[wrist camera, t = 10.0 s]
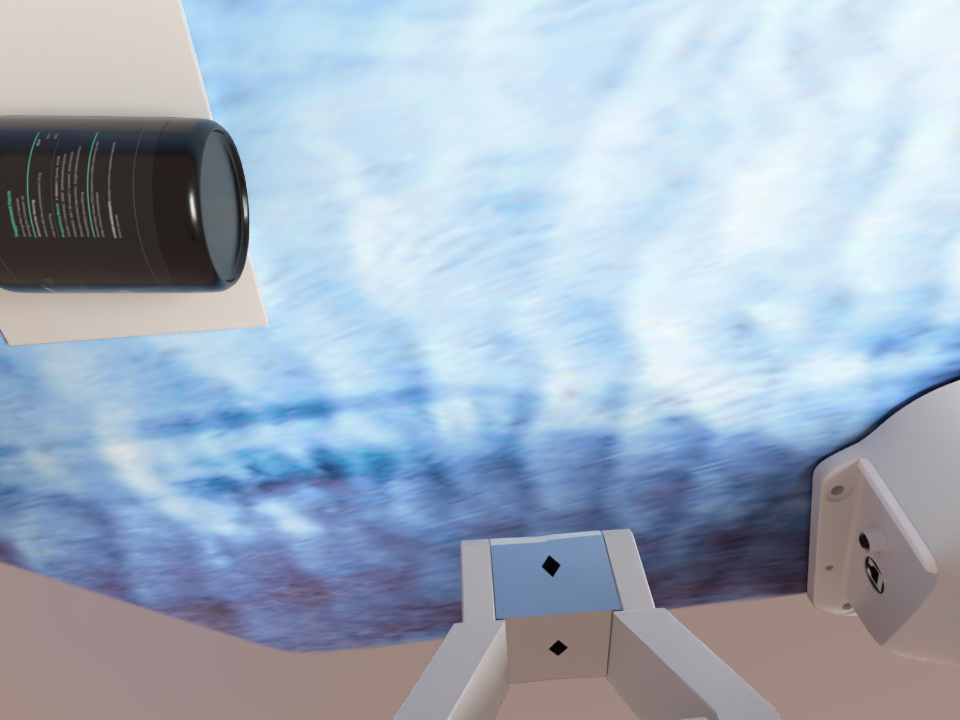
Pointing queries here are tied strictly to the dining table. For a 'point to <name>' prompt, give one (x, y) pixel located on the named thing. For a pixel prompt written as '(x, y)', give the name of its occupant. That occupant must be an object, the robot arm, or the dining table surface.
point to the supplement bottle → (120, 205)
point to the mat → (117, 93)
